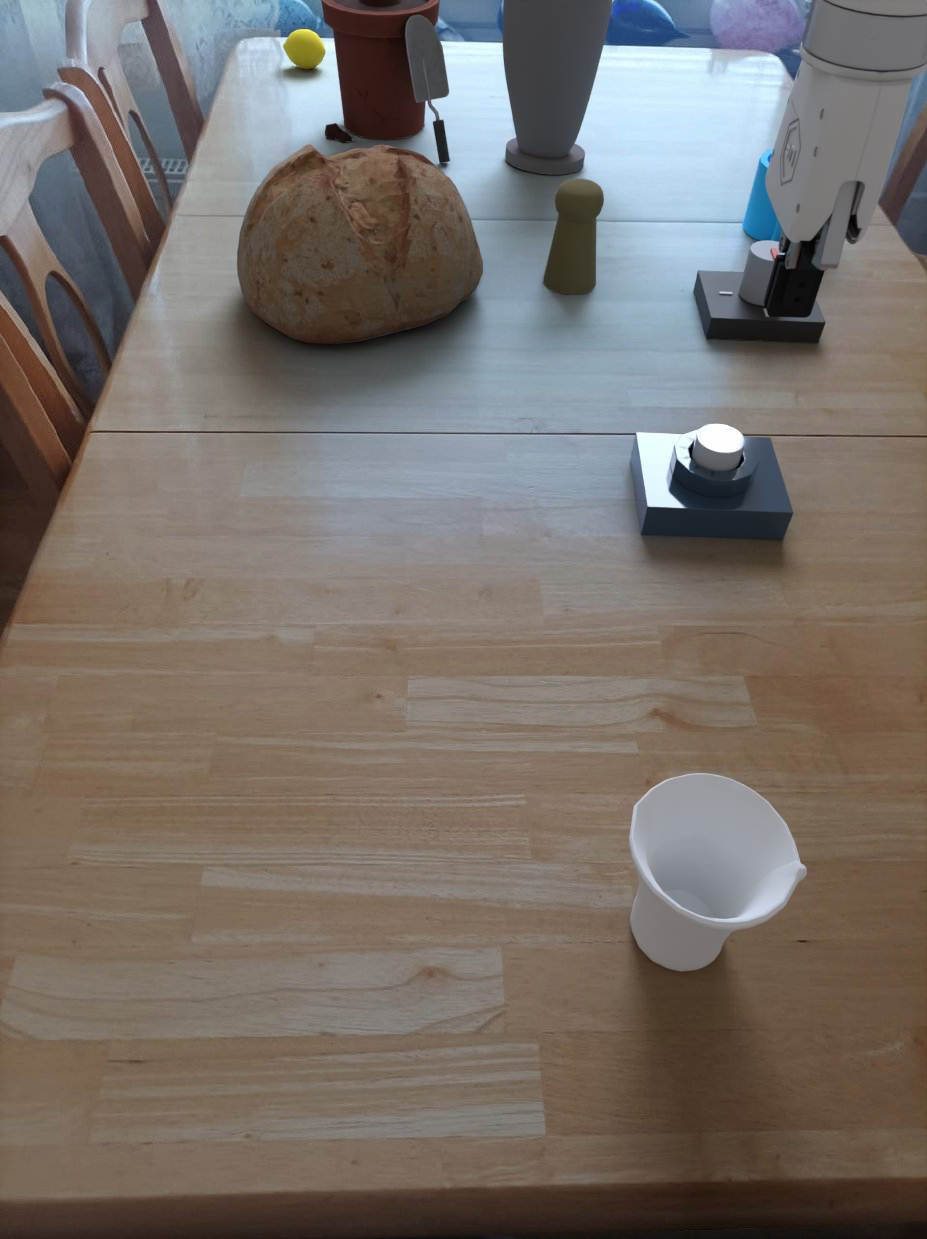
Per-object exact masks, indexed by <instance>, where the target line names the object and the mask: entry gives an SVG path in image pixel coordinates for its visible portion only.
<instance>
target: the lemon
mask: <svg viewBox="0 0 927 1239" xmlns="http://www.w3.org/2000/svg"><path fill="white" fill-rule="evenodd" d="M324 44H325V43H324V42H323V40H322V38H321V37H320V36H319V34H318V33H317V32H315V31H313V30H311V29H308V28H299V29H296V30H295V31H292V32H291V33H290V34H289V35H288V37H287V38H286V40H285V41H284V42H283V45H282V48H283V50H284V52H285V54H286V56H287V57H288V59H289V60H290V62H291V63H292V64H294V65H295V66H296V67H298V68H300V69H305V70H311V69H314V68H316V67H317V66H319V65H320V64H321V63H322V61H323V60H324V58H325V55H326V47H325V45H324Z"/></svg>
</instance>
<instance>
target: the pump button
mask: <svg viewBox="0 0 927 1239" xmlns="http://www.w3.org/2000/svg"><path fill="white" fill-rule="evenodd" d="M698 429H699V430H698V432H697V434H696V438H695V442H694V446H693V449H692V458H693V460H694V461H695V462H696V463H697V464H698V465H699V466H701V467H703V468H706V469H709V470H711V471H721V472H728V471H731V470H733V469H735V468H736V467H737V466H738V464H739V462H740V459H741V456H742V452H743V449H744V446H745V438H744V437H745V435H743V433H742V432H741V431H739V430H738V429H737V428H735V427H733V426H731V425H727V424H723V423H709V424H705V425H703V426H701V427H700V428H698Z"/></svg>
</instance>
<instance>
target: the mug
mask: <svg viewBox="0 0 927 1239" xmlns="http://www.w3.org/2000/svg"><path fill="white" fill-rule="evenodd" d="M773 149H774V148H772V149H767V150H766V151H764V152H762V153H761V155H760V156H759V159H758V163H757V168H756V171H755V175H754V179H753V183H752V187H751V191H750V194H749V199H748V202H747V206H746V210H745V214H744V218H743V221H742V229H743V231H744V232H745V233H746V234H747V235H748V236H750V237H751V238H753V239H755V240H756V241H764V240H770V241H777V242H779V240H780V236H781V231H782V227H781V225H780V223H779V220H778V218H777V216H776V214H775V211H774V209H773V206H772V204H771V201H770V199H769V196H768V193H767V190H766V183H765V181H766V174H767V170H768V166H769V162H770V159H771V155H772V152H773Z"/></svg>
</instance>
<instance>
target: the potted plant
mask: <svg viewBox="0 0 927 1239" xmlns="http://www.w3.org/2000/svg"><path fill="white" fill-rule="evenodd" d="M320 1H321V7H322V15H323V21H324V23H325V25H327V26H328V27H329V28H330V29H332V34H333V43H334V50H335V59H336V68H337V77H338V82H339V92H340V100H341V108H342V117H343V124H344V128H345V129H346V130H347V131H348V132H349V133H350V134H352V135H355V136H358V137H362V138H366V139H370V140H378V141H379V140H380V141H388V140H399V139H405V138H406V139H407V138H409V137H412V136H415V135H417V134H419V133H420V132H422V130H423V129H424V127H425V122H426V103H427V105H428V108H429V109H430V110H431V112H432V113H433V114H434V116H435V120H433V121H432V126H433V128H432V129H433V134H434V139H435V146H436V151H437V157H438V163H439V164H444V163H449V162H450V161H451V159H450V153H449V145H448V141H447V140H448V138H447V132H446V126H445V121H444V119H441V118H440V114H439V112H438V110H437V109H436V108H435V106H434V105H433V103H432V101H433V100H438V99H443V98H447V97H448V96H449V95H450V86H449V79H448V72H447V67H446V60H445V54H444V48H443V47H444V46H443V44H442V42H441V39H440V37H439V35H438V32H437V31H436V29H435V27H436V25H437V24H438V21H439V15H440V14H439V13H440V3H441V0H320ZM347 131H344V130H343V129H342V128H341V127H340V126H339V125H338V123H336V122H335V123H329V124H326V125H325V129H324V135H325V138H326V139H327V140H336V141H337V142H338V141H339V142H340V143H342V144H346V143H351V142H354V140H353V136H351V135H350V134H349V133H348V132H347Z"/></svg>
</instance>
